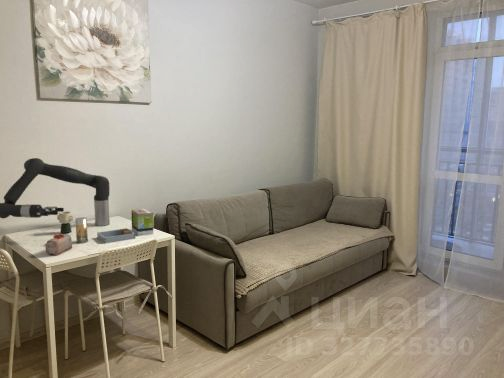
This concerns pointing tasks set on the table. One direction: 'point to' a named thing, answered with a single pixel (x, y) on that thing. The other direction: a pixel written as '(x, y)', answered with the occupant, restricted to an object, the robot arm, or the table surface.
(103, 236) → the tote
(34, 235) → the table surface
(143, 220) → the tea box
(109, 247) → the table surface
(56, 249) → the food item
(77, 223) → the tin can
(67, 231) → the character mug
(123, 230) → the walnut block
